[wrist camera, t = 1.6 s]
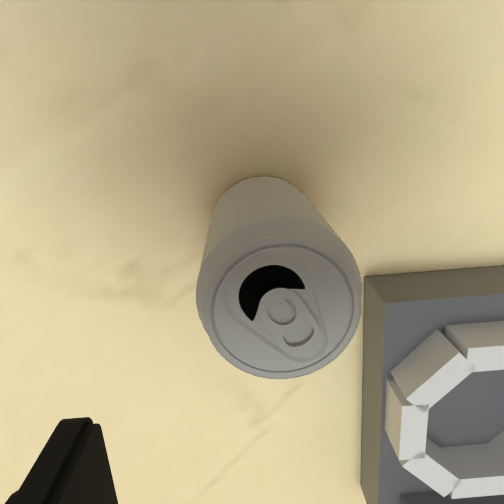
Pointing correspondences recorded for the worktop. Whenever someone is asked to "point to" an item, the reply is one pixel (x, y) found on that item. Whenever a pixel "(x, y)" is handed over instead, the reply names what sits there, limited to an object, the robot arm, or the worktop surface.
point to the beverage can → (276, 282)
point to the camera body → (433, 387)
